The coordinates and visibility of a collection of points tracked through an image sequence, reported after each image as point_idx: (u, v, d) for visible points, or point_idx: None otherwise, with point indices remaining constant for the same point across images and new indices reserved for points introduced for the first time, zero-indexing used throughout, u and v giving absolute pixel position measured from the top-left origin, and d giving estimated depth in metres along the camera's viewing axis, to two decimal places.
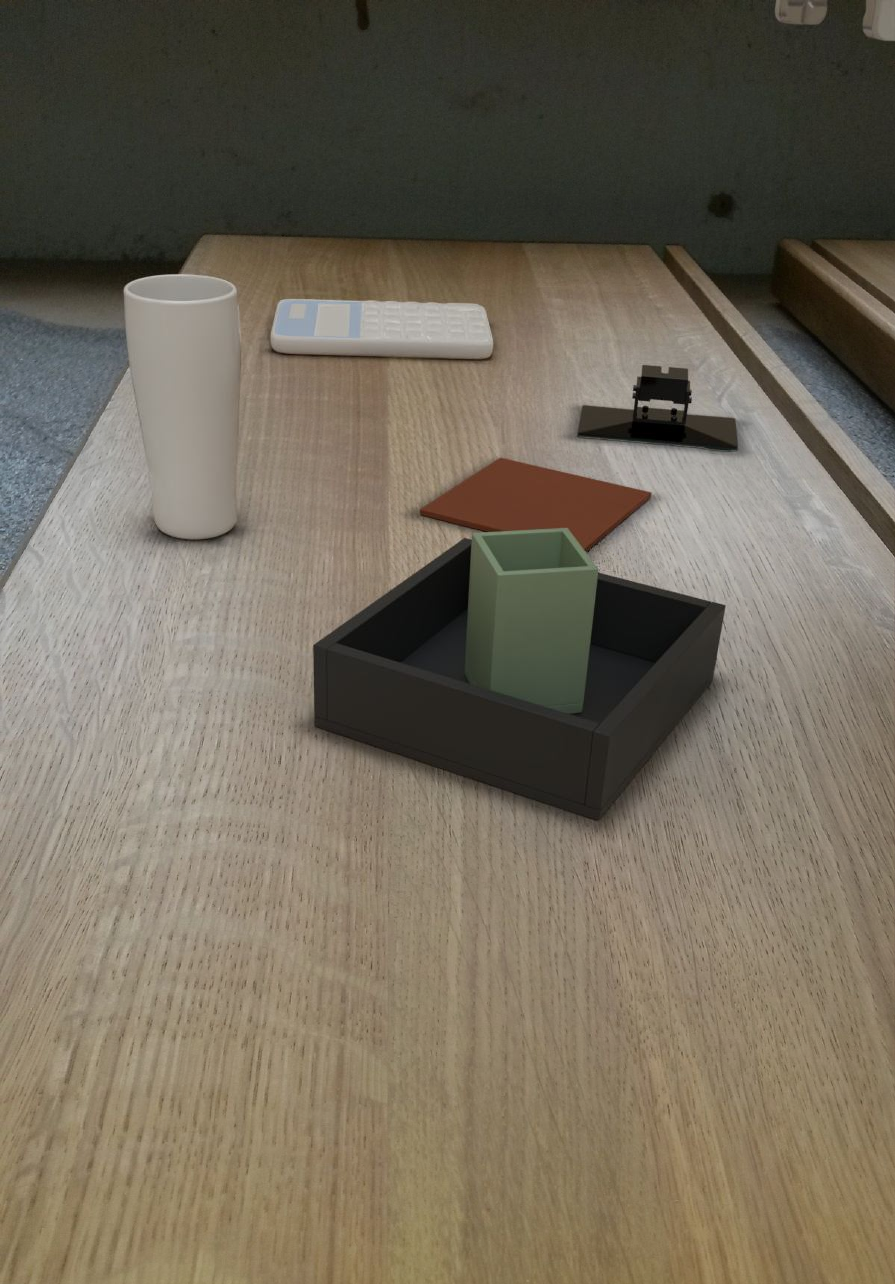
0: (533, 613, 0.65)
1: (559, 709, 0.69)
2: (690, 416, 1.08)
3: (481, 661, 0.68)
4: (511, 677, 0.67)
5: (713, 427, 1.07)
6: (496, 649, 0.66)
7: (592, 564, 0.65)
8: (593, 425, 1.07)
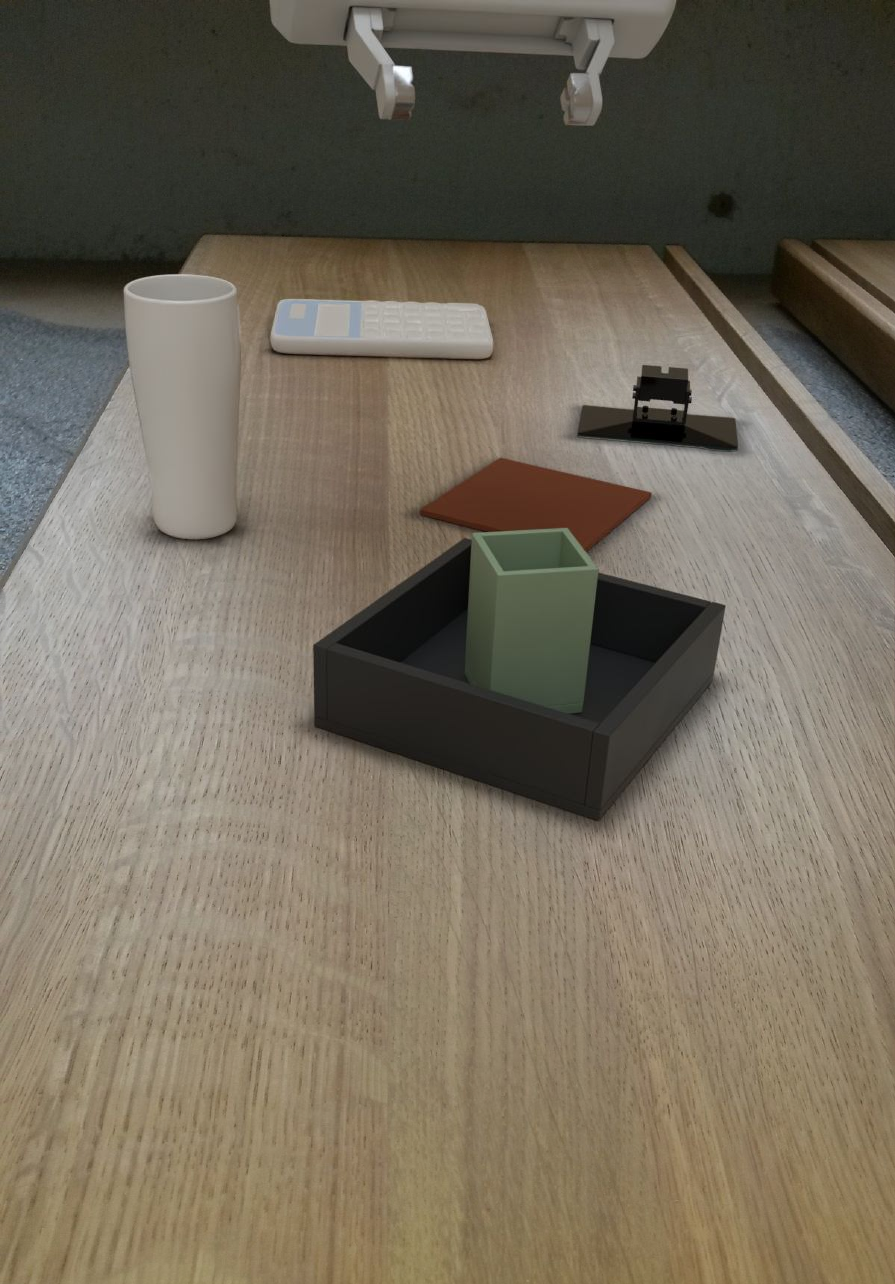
0: (533, 613, 0.65)
1: (559, 709, 0.69)
2: (690, 416, 1.08)
3: (481, 661, 0.68)
4: (511, 677, 0.67)
5: (713, 427, 1.07)
6: (496, 649, 0.66)
7: (592, 564, 0.65)
8: (593, 425, 1.07)
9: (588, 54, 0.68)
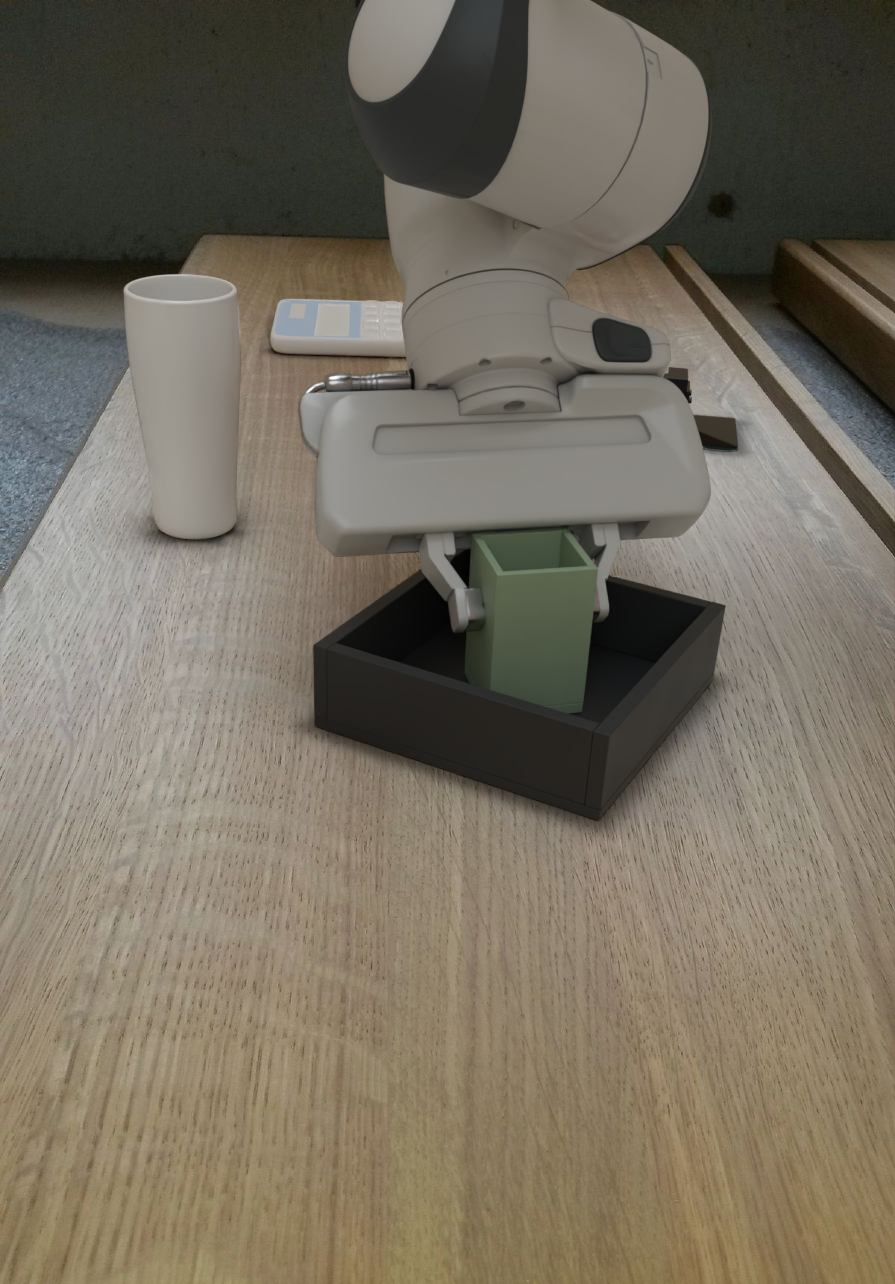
0: (533, 613, 0.65)
1: (559, 709, 0.69)
2: None
3: (481, 661, 0.68)
4: (511, 677, 0.67)
5: (713, 427, 1.07)
6: (496, 649, 0.66)
7: (592, 564, 0.65)
8: None
9: (595, 552, 0.69)
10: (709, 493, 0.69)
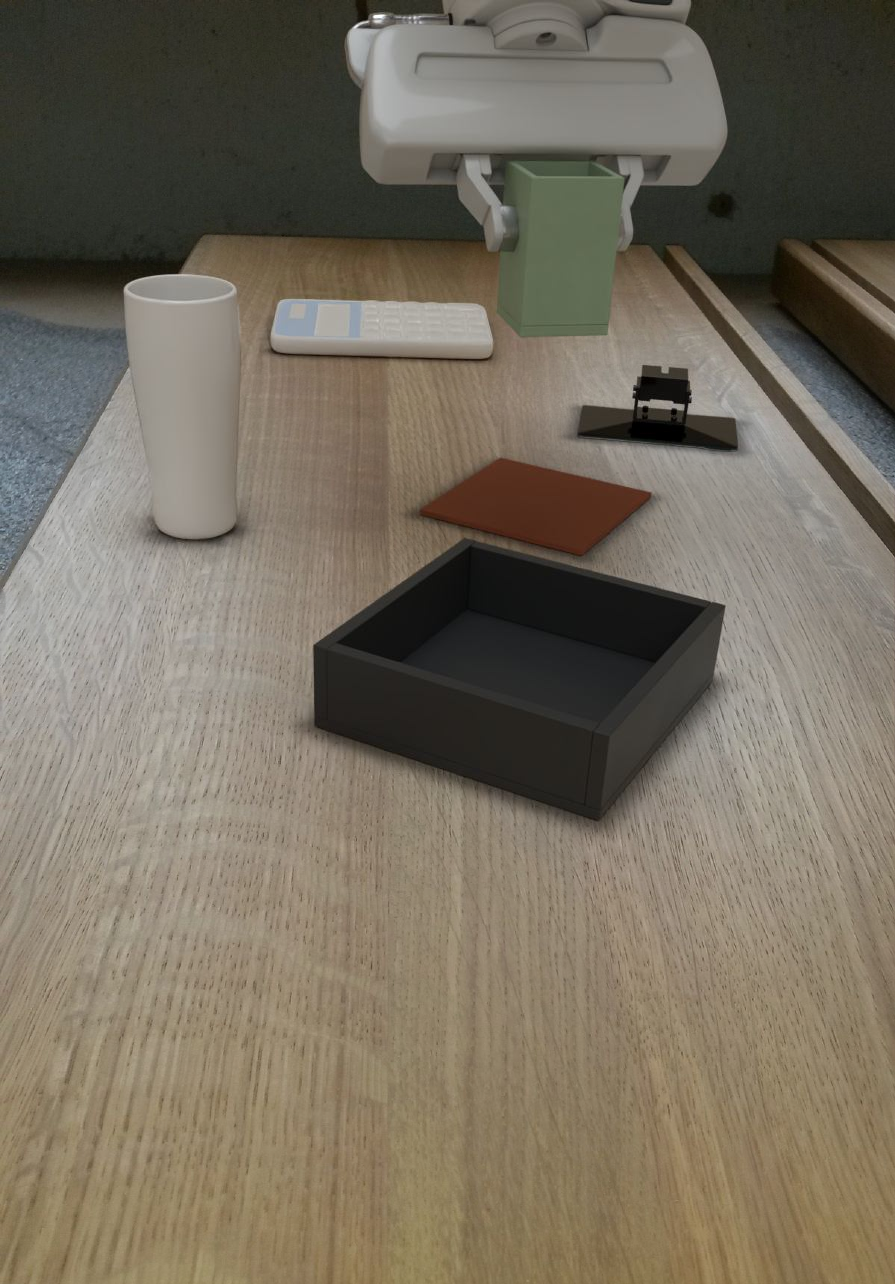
0: (564, 222, 0.70)
1: (586, 330, 0.74)
2: (690, 416, 1.08)
3: (514, 282, 0.73)
4: (542, 291, 0.72)
5: (713, 427, 1.07)
6: (529, 259, 0.71)
7: (618, 176, 0.70)
8: (593, 425, 1.07)
9: None
10: (726, 132, 0.74)
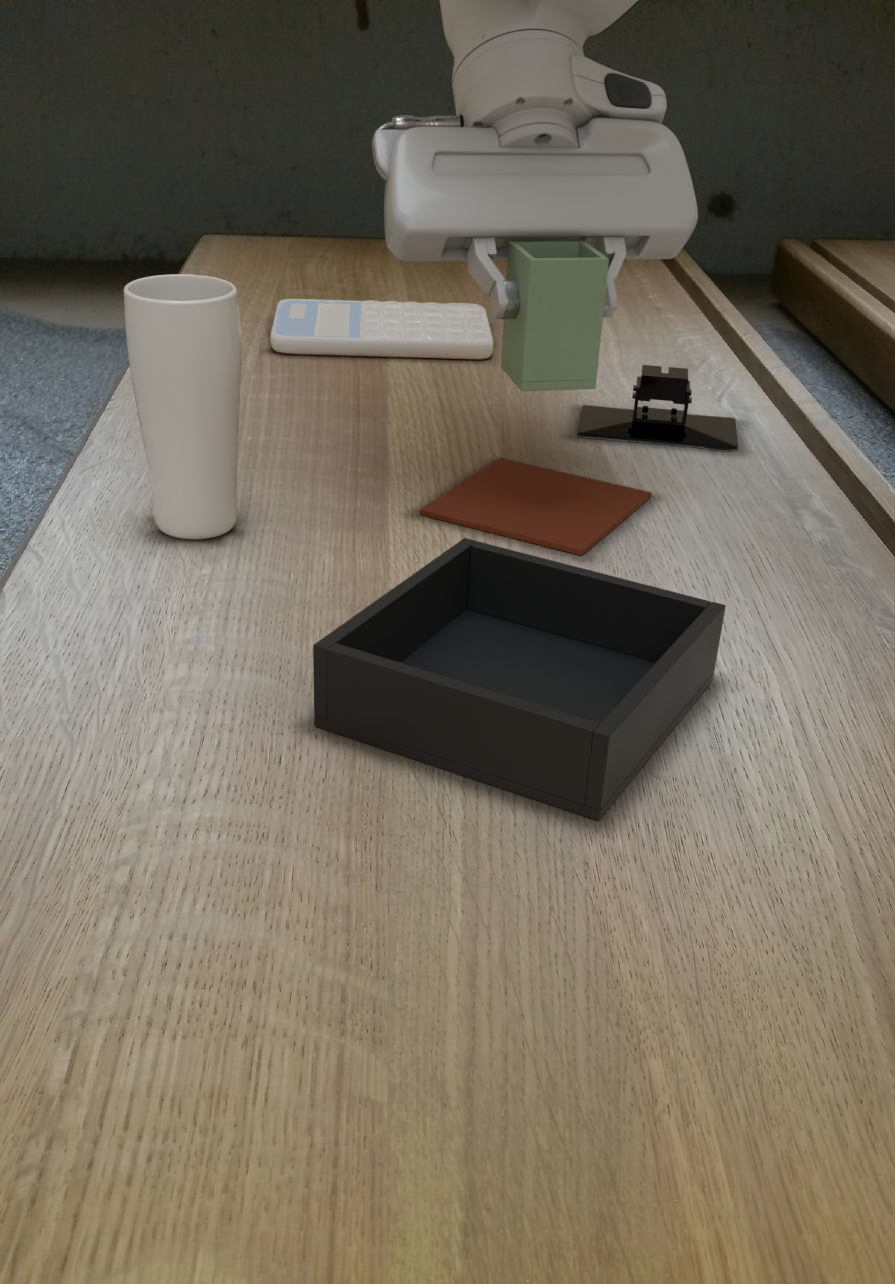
0: (557, 296, 0.83)
1: (577, 384, 0.87)
2: (690, 416, 1.08)
3: (515, 344, 0.86)
4: (540, 352, 0.85)
5: (713, 427, 1.07)
6: (528, 326, 0.84)
7: (604, 257, 0.83)
8: (593, 425, 1.07)
9: None
10: (696, 215, 0.87)
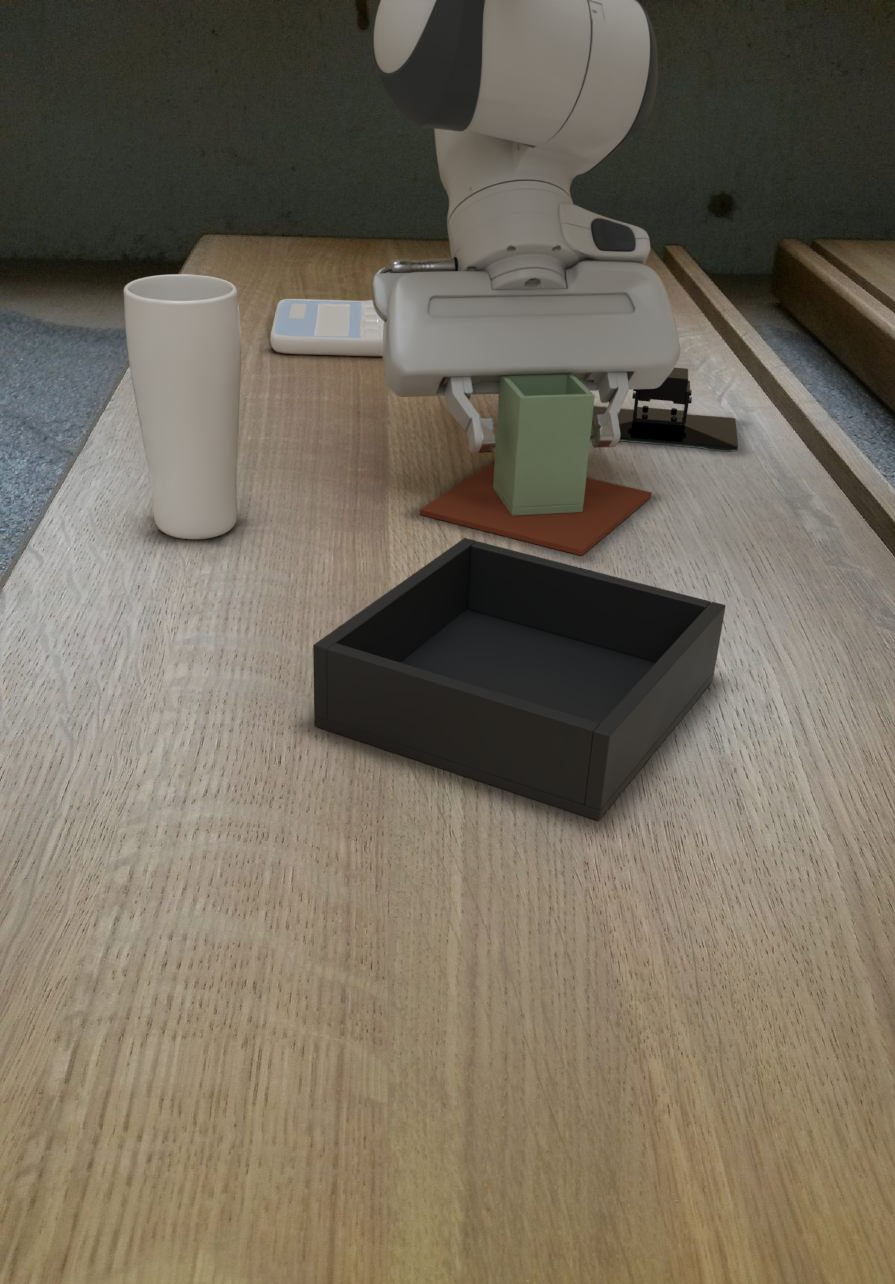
0: (546, 429, 0.88)
1: (565, 508, 0.91)
2: (690, 416, 1.08)
3: (507, 471, 0.91)
4: (529, 481, 0.90)
5: (713, 427, 1.07)
6: (518, 457, 0.89)
7: (590, 392, 0.88)
8: None
9: (609, 395, 0.92)
10: (679, 351, 0.92)
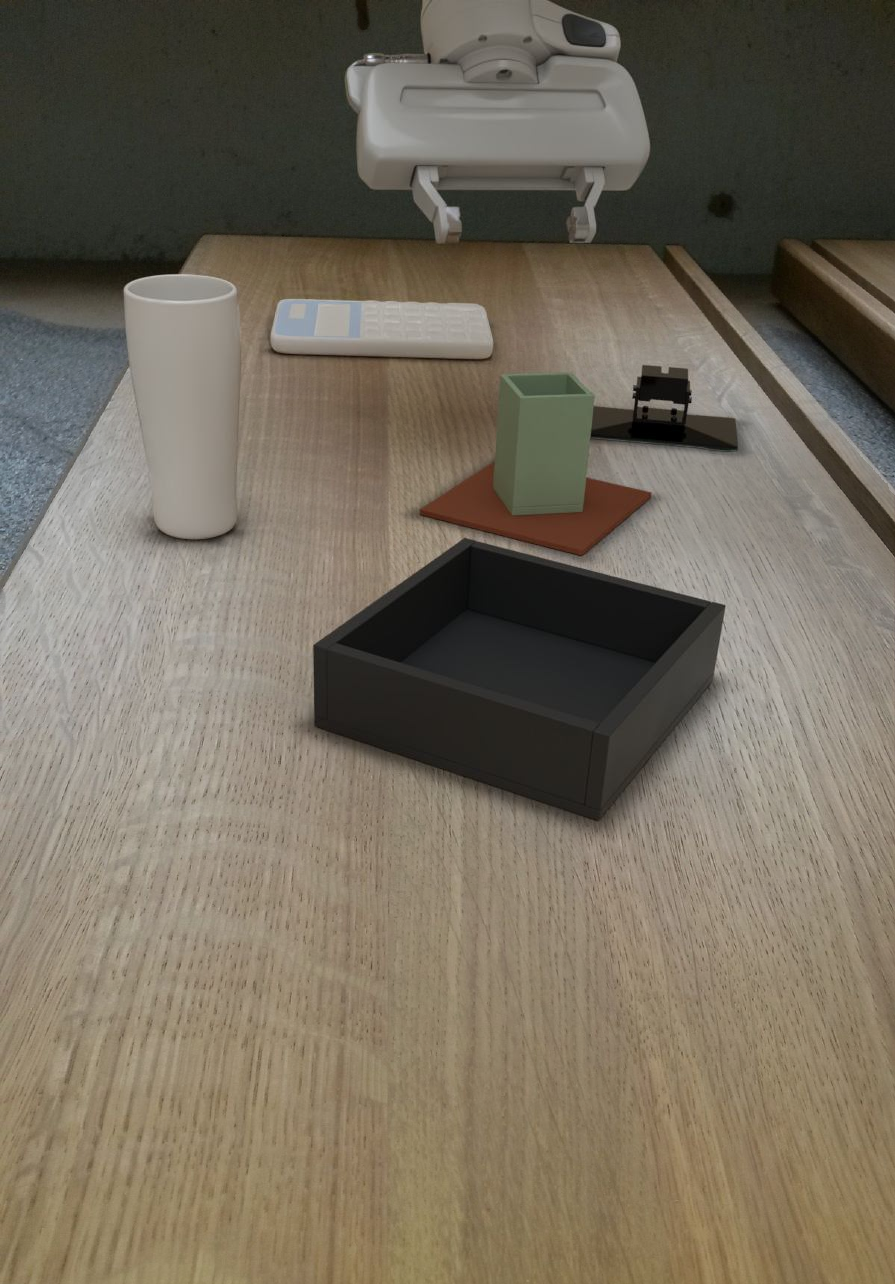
0: (546, 429, 0.88)
1: (565, 508, 0.91)
2: (690, 416, 1.08)
3: (507, 471, 0.91)
4: (529, 481, 0.90)
5: (713, 427, 1.07)
6: (518, 457, 0.89)
7: (590, 392, 0.88)
8: (593, 425, 1.07)
9: (586, 191, 0.94)
10: (648, 148, 0.93)
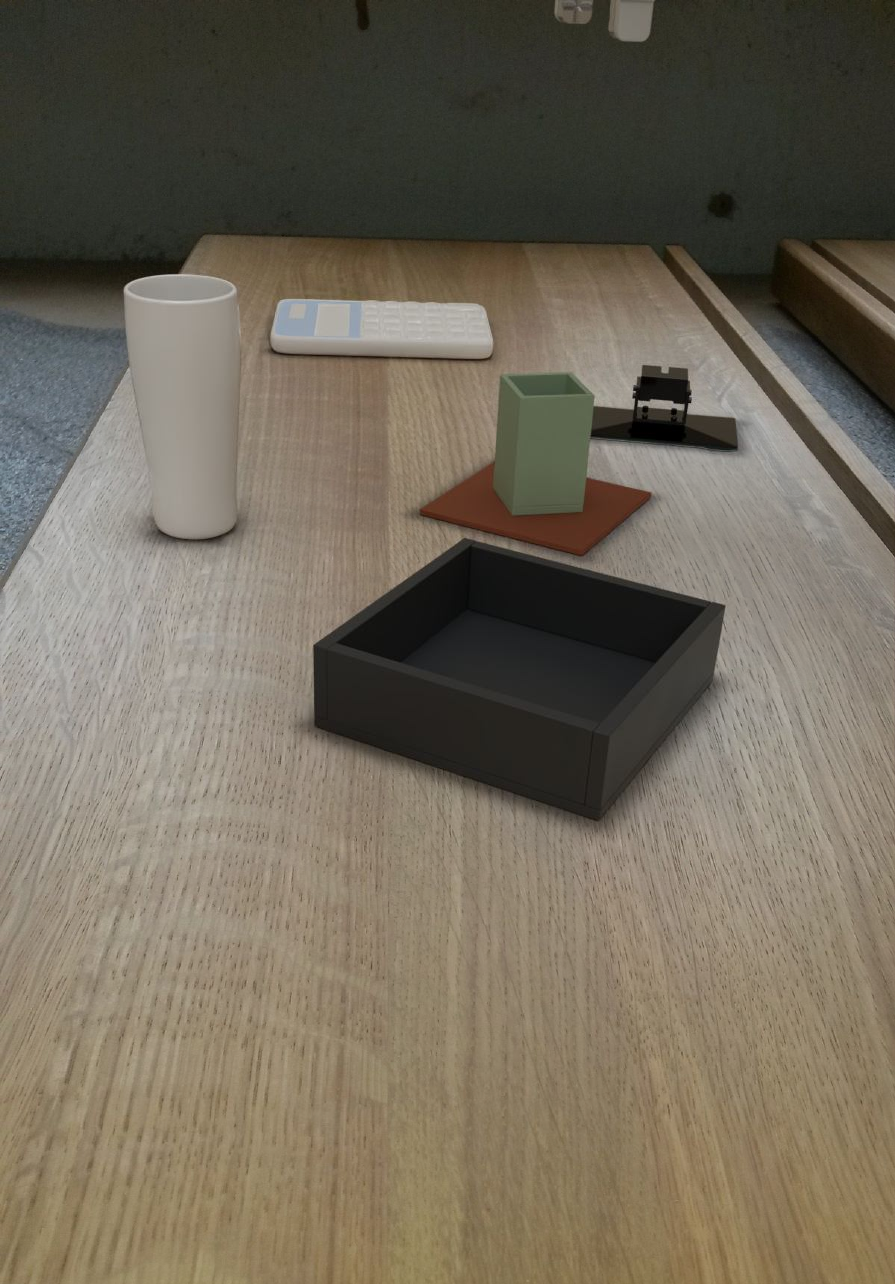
0: (546, 429, 0.88)
1: (565, 508, 0.91)
2: (690, 416, 1.08)
3: (507, 471, 0.91)
4: (529, 481, 0.90)
5: (713, 427, 1.07)
6: (518, 457, 0.89)
7: (590, 392, 0.88)
8: (593, 425, 1.07)
9: None
10: None
